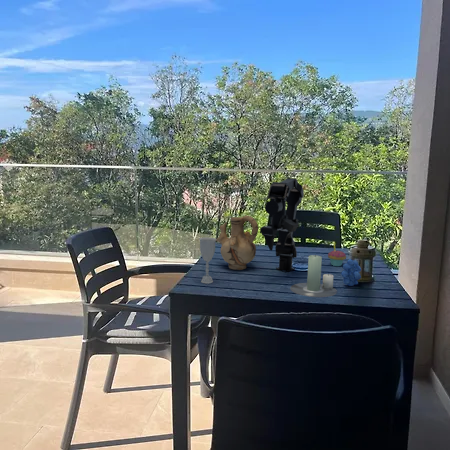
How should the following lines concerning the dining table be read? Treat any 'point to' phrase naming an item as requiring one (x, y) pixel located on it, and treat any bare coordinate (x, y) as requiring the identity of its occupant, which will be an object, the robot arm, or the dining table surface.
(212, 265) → the dining table surface
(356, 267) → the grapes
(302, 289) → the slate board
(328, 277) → the ivory candle
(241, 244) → the ceramic vessel
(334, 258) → the cupcake
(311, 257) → the pillar candle
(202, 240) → the chalice
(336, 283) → the dining table surface
